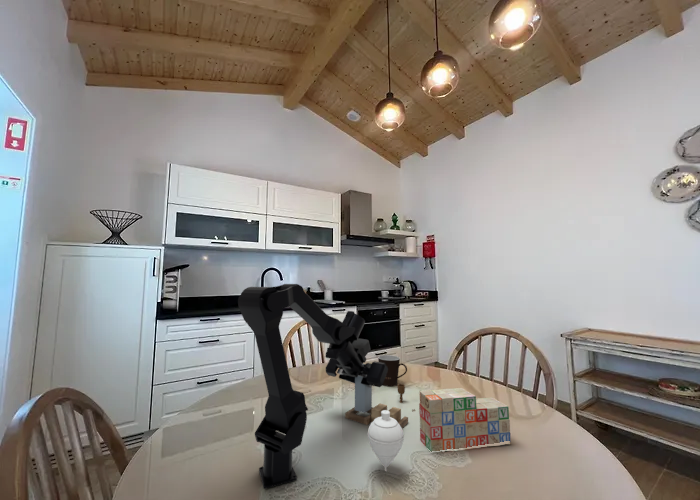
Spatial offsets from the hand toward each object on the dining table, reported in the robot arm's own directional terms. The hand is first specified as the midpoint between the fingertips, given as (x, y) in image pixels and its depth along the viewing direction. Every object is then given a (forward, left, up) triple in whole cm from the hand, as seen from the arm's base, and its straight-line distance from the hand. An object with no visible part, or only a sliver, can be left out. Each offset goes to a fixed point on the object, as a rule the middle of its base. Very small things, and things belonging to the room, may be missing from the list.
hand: (365, 385), depth 91 cm
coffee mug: (+19, -22, -9) cm, 30 cm away
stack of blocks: (-24, -15, -9) cm, 30 cm away
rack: (-5, -1, -9) cm, 10 cm away
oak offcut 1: (-5, -2, -9) cm, 10 cm away
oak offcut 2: (-9, -4, -9) cm, 13 cm away
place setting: (-4, -23, -9) cm, 25 cm away
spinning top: (-26, +9, -9) cm, 29 cm away
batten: (-1, +1, -7) cm, 7 cm away
